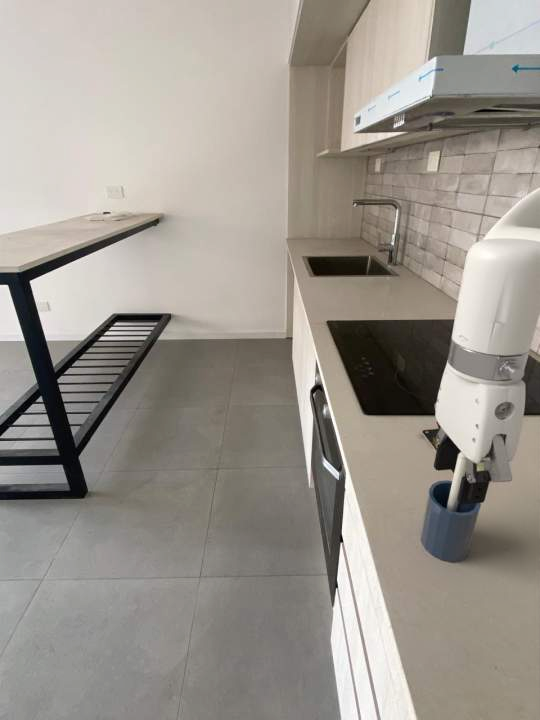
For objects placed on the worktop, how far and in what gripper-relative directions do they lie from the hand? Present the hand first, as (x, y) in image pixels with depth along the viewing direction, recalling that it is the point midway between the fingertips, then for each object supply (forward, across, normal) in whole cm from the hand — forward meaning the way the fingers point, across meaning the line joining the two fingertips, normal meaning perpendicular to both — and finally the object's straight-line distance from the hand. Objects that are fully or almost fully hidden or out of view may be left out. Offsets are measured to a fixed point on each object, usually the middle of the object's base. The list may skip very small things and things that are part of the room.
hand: (457, 483), depth 51 cm
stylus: (+11, 0, 0) cm, 11 cm away
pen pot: (+11, 0, 0) cm, 11 cm away
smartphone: (+11, +18, -12) cm, 24 cm away
